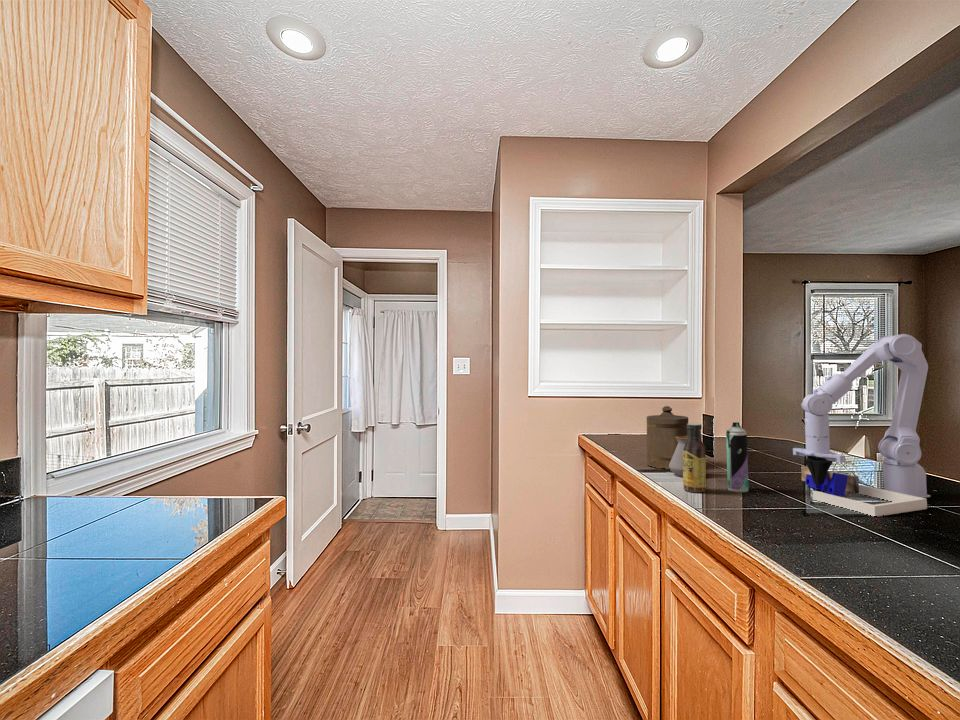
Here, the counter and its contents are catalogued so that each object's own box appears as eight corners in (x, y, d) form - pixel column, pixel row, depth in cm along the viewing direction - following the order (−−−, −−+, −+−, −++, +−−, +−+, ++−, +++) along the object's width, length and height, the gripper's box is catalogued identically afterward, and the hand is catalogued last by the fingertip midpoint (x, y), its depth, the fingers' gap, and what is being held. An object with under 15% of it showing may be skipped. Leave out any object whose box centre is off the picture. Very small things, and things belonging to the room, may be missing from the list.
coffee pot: (666, 471, 177) (665, 428, 178) (701, 472, 175) (700, 428, 175) (677, 485, 156) (675, 437, 157) (717, 486, 154) (715, 437, 154)
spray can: (740, 493, 145) (738, 423, 146) (723, 489, 150) (721, 422, 151) (752, 490, 148) (750, 422, 148) (735, 486, 153) (733, 420, 153)
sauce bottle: (679, 488, 152) (677, 422, 153) (699, 487, 153) (697, 422, 153) (690, 494, 146) (688, 425, 146) (711, 493, 146) (708, 424, 147)
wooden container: (690, 463, 191) (688, 405, 191) (689, 471, 177) (687, 408, 177) (649, 461, 197) (647, 404, 197) (645, 468, 183) (643, 407, 183)
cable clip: (804, 483, 152) (808, 464, 152) (820, 486, 151) (824, 466, 151) (826, 494, 140) (830, 472, 140) (844, 497, 139) (847, 475, 139)
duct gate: (855, 492, 143) (855, 476, 143) (853, 492, 143) (852, 476, 143) (804, 480, 158) (803, 466, 158) (801, 480, 158) (801, 466, 158)
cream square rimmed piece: (856, 492, 143) (855, 475, 143) (927, 508, 126) (926, 489, 126) (807, 499, 137) (807, 481, 138) (875, 516, 121) (874, 496, 121)
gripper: (784, 434, 150) (785, 480, 150) (831, 440, 136) (832, 491, 136) (802, 432, 152) (804, 478, 152) (850, 438, 138) (852, 488, 138)
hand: (818, 484), depth 144 cm, fingers closed, pressing on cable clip
